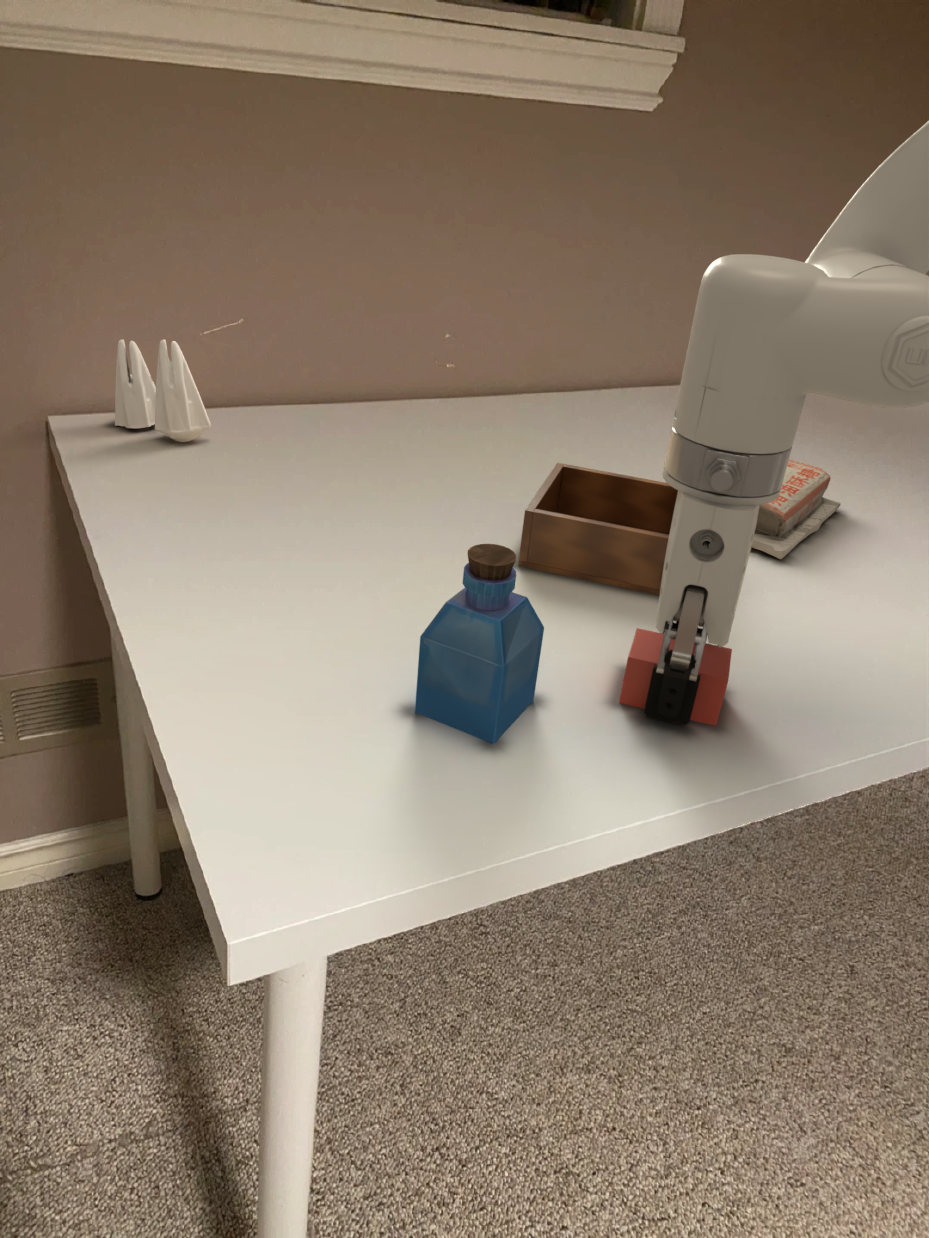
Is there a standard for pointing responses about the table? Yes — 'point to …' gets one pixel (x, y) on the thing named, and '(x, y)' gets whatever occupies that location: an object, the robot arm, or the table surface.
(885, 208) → the robot arm
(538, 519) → the holder
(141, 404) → the shaker set
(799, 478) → the packaged product
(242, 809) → the table surface
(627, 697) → the block
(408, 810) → the table surface
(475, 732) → the perfume bottle
